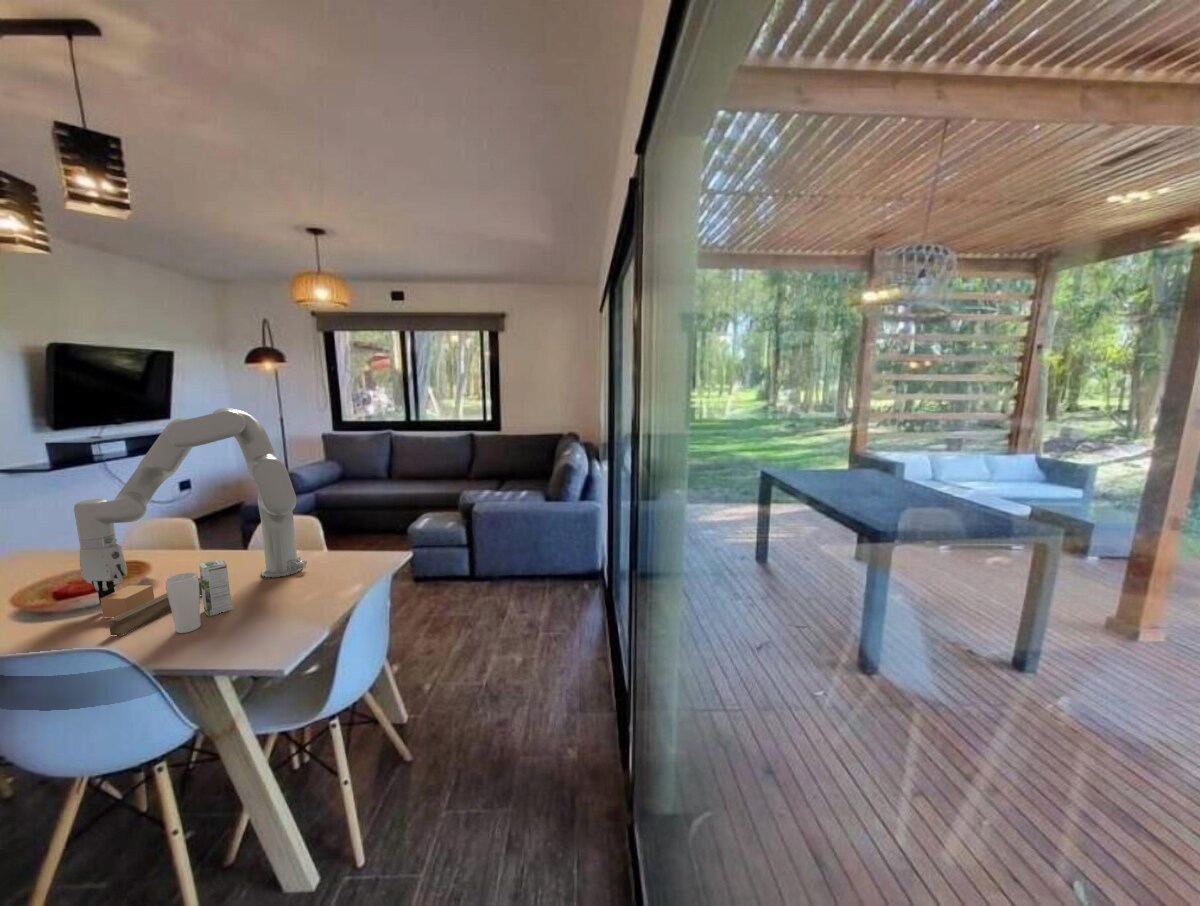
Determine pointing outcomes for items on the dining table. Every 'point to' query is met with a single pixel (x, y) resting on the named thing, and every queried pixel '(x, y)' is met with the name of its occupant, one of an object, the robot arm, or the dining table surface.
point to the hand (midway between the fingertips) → (108, 601)
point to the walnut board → (141, 615)
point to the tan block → (126, 599)
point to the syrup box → (215, 587)
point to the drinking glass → (184, 601)
